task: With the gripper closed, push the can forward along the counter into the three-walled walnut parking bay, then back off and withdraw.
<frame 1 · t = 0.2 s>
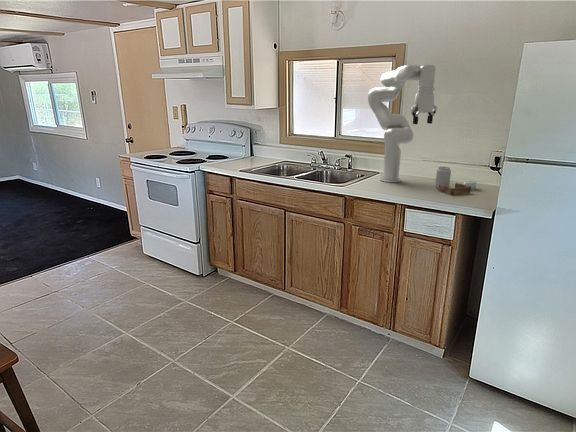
hand: (422, 123, 210), 36 cm above the worktop, tool pointing down, fingers open, 9 cm apart
bay: (453, 191, 215), on the worktop
can: (441, 188, 223), on the worktop
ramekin: (469, 189, 221), on the worktop
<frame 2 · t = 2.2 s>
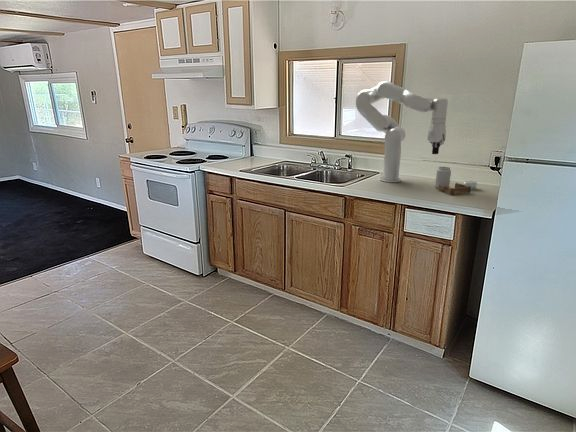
hand: (435, 153, 225), 18 cm above the worktop, tool pointing down, fingers closed
nothing on the worktop moved.
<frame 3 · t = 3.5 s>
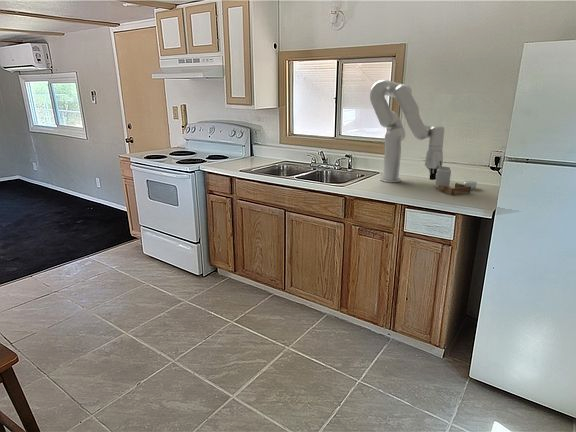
hand: (432, 179, 230), 3 cm above the worktop, tool pointing down, fingers closed
nothing on the worktop moved.
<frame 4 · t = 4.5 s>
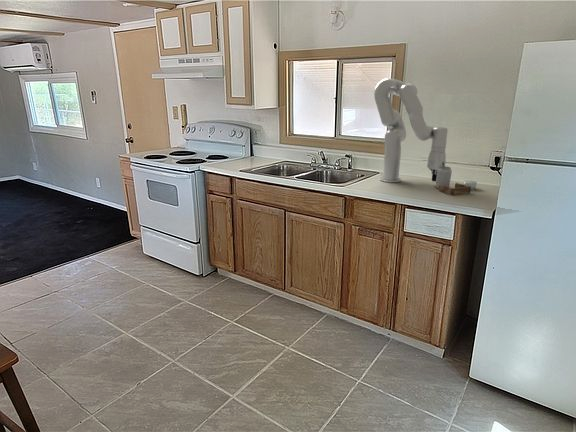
hand: (434, 180, 228), 3 cm above the worktop, tool pointing down, fingers closed
can: (441, 188, 223), on the worktop, touching gripper
everything else where it was.
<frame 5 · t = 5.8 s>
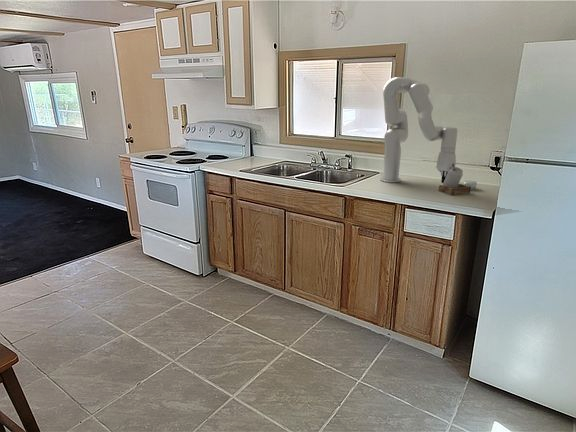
hand: (444, 182, 221), 3 cm above the worktop, tool pointing down, fingers closed
can: (448, 188, 218), point 1 cm above the worktop, touching gripper
everything else where it was.
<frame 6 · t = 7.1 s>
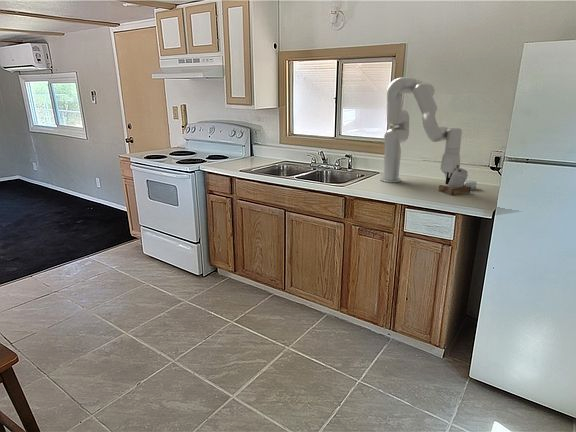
hand: (448, 184, 218), 3 cm above the worktop, tool pointing down, fingers closed
can: (453, 190, 215), point 1 cm above the worktop, touching bay, gripper
everything else where it was.
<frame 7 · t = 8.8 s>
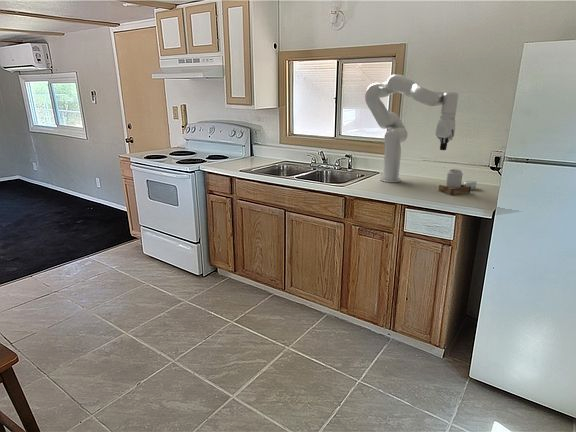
hand: (442, 149, 218), 21 cm above the worktop, tool pointing down, fingers closed
can: (452, 191, 215), on the worktop
everything else where it was.
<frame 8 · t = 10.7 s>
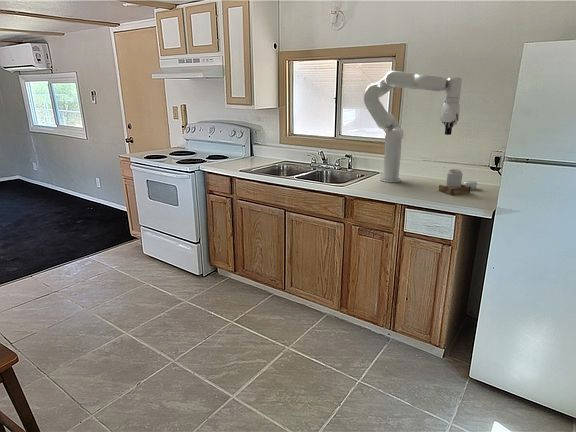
hand: (447, 134, 222), 29 cm above the worktop, tool pointing down, fingers closed
nothing on the worktop moved.
at the end: can 0.4 cm from the bay (horizontally); can tilted 1°; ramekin moved 0.0 cm from its start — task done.
